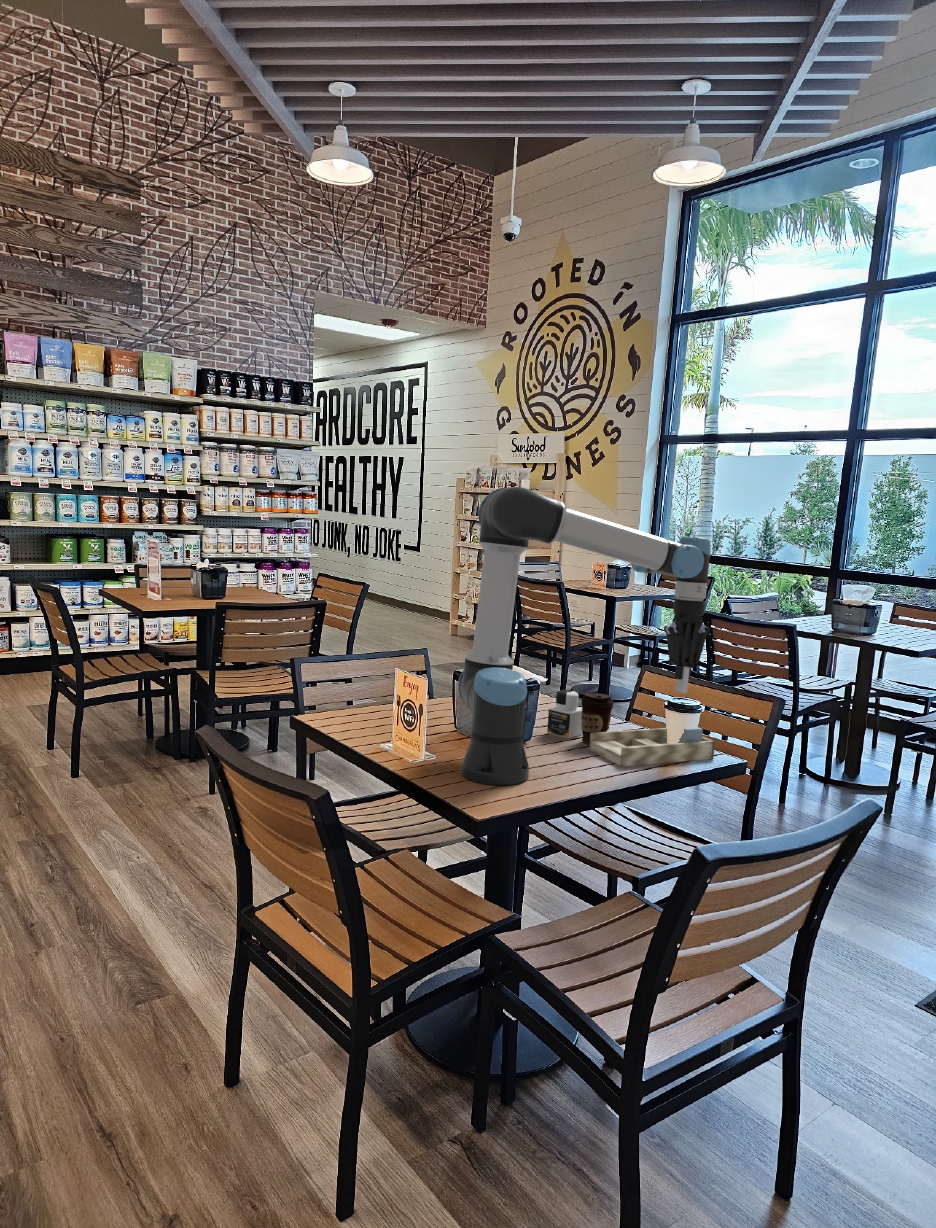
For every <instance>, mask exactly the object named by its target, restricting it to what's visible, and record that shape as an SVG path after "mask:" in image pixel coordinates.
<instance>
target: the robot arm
mask: <svg viewBox="0 0 936 1228" xmlns="http://www.w3.org/2000/svg"><path fill="white" fill-rule="evenodd" d="M477 513H478V514H477V516H478V517H477V518H478V523H479V525H480V529H479V530H480V531H479V539H478V544H479V546H481V548H482V550H483V561H482V568H481V577H480V584H479V591H478V600H477V602H478V603H477V610H476V618H475V627H474V628H475V629H474V634H473V635H474V637H473V644H472V650H471V651H469V653H467V654H466V655H465V656H464V657H465V658H464V664H463V665H464V666H463V670H462V671H461V673H460V675H459V677H458V683H457V687H458V688H457V689H458V695H459V698H460V700H461V701H462V703H463V704H464V705H465V706H466V708H468V709H469V710H470V711H471V712H472V722H471V724H472V725H471V738H470V741H469V744H468V747H467V749H466V753H465V755H464V757H463V760H462V763H461V775H462V777H464V778H466V779H467V780H469V781H473V782H474V783H475V782H476V783H480V784H485V785H492V786H493V785H495V786H511V785H517V784H521V783H524V782H526V781H527V780H528V779H529V775H530V766H529V761H528V758H527V753H526V750H525V746H524V731H525V715H526V704H527V701H526V700H527V694H528V688H527V680H526V677H525V676H524V675H523V674H522V673H520V672H519V671H516V670H513V669H514V661H513V660H512V658H511V656H510V655H509V650H510V642H511V633H512V625H513V618H514V610H515V601H516V600H515V599H516V591H517V584H518V579H519V578H518V577H519V569H520V568H519V567H520V563H521V562H520V561H521V555H522V554H523V553H525V552H526V551H527V550H528V548H529V541H537V542H541V543H545V544H548V545H549V544H552V543H554V542H558V543H560V544H564V545H568V546H571V547H575V548H577V549H578V548H579V549H582V550H586V551H588V552H592V553H596V554H599V555H602V556H605V557H609V558H612V559H615V560H619V561H621V562H625V563H629V564H630V565H631V568H632V570H634V571H635V572H636V573H643V574H657V575H662V576H663V575H664V576H669V577H670V576H671V577H675V585H674V586H675V588H674V597H675V598H674V601H673V609H672V611H673V613H674V615H673V616H674V617H673V618H672V623H670V624H669V625H665V626H664V627H663V631H664V632H665V635H666V641H667V642H666V643H667V653H668V661H669V663H670V664H673V665H674V666H675V671H674V672H675V673H674V679H676V683H675V692H678V693H682V694H687V693H688V687H689V680H690V679H691V675H692V668H695V666H696V665H699V662H700V659H701V656H702V653H703V649H704V645H705V642H706V639H707V636H708V634H709V633H710V631H711V627H709V626H706V625H705V624H704V620H703V616H704V615H705V609H706V602H705V600H704V599H706V597H707V588H708V576H709V568H710V560H711V559H710V558H711V541H710V540H709V539H708V538H707V537H698V536H697V537H696V536H680V538H679V541H678V542H677V541H673V540H671V539H666V538H663V537H661V536H657V535H654V534H650V533H647V532H644V531H641V530H638V529H635V528H631V527H627V526H624V525H622V524H620V523H619V524H618V523H615V522H613V521H612V522H611V521H609V520H605V519H602V518H600V517H596V516H592V515H590V514H586V513H583V512H580V511H577V510H576V511H575V510H573V509H569V508H566V505H565V504H564V502H563V501H559V500H557V499H553V498H551V497H549V496H547V495H546V496H545V495H544V494H542V493H538V492H536V491H534V490H531V489H529V488H525V487H523V486H522V487H521V486H510V487H501V488H497V489H495V490H492V491H491V492H490V493H488V494H487V495H486V496H485V497H484V498H483V500H482V501H481V503H480V505H479V507H478V512H477Z"/></svg>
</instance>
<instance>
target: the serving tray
mask: <svg viewBox="0 0 936 1228" xmlns="http://www.w3.org/2000/svg"><path fill="white" fill-rule="evenodd" d="M666 728H667V727H662V728H661V727H658V728H646V729H645V728H644V729H631V730H615V731H607V732H597V733H590V744H589V746H588V747H589V748H588V750H589V751H590V752H592V753H594V754H597V755H598V756H600V757H602V758H604V759H605V760H608V761H610V762H611V763H613V764H616V765H618V766H620V767H622V768H623V767H635V766H645V765H646V766H647V765H656V764H657V765H658V764H659V765H660V764H668V763H669V764H670V763H680V762H691V761H703V760H713V759H715V746H716V741H715V740H713V739H710V738H707V737H706V736H702V742H689V743H676V744H668V743H667V729H666Z"/></svg>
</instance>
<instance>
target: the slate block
mask: <svg viewBox="0 0 936 1228" xmlns="http://www.w3.org/2000/svg"><path fill="white" fill-rule="evenodd" d="M696 727H697V729H695V728H694V729H684V733H683V734H682V736H681V738H680V739H679V740H680V741H679V742H678V743H689V742H702V737H703V733H704V732H703V731H704V729H703V728H701V727H699V726H696Z"/></svg>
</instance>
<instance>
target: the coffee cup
mask: <svg viewBox="0 0 936 1228" xmlns="http://www.w3.org/2000/svg"><path fill="white" fill-rule="evenodd" d="M612 698H613V697H612V696H611V695H610V694H605V693H592V692H591V693H590V692H587V693H584V694H583V697H582V698H581V709H582V714H581V720H582V723H581V728H582V738H581V742H582V743H584V744H587V745H590V733H597V732H608V730H609V729H610V723H611V719H612V718H611V715H612V710H613V706H614V701H613V700H612Z"/></svg>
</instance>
